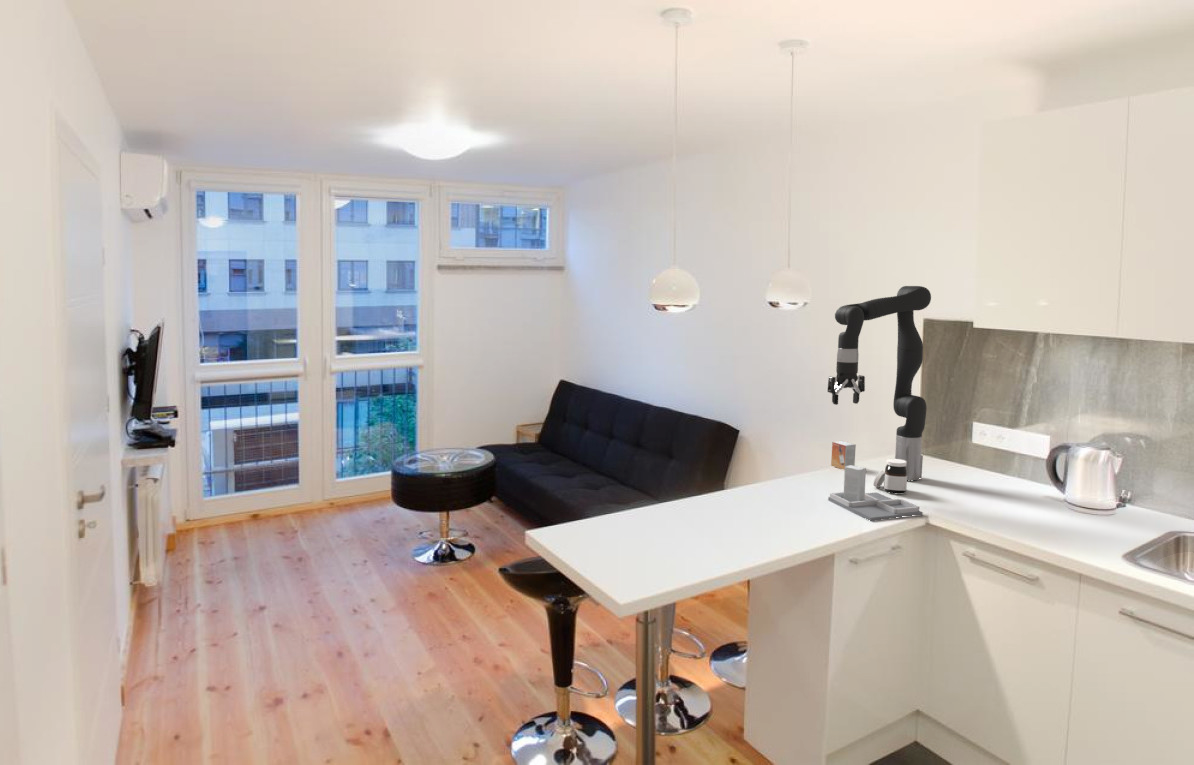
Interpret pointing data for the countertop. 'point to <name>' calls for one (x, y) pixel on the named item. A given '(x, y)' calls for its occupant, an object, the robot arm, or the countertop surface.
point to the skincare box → (854, 483)
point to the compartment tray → (876, 506)
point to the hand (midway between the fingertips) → (845, 403)
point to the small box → (843, 454)
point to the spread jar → (893, 476)
